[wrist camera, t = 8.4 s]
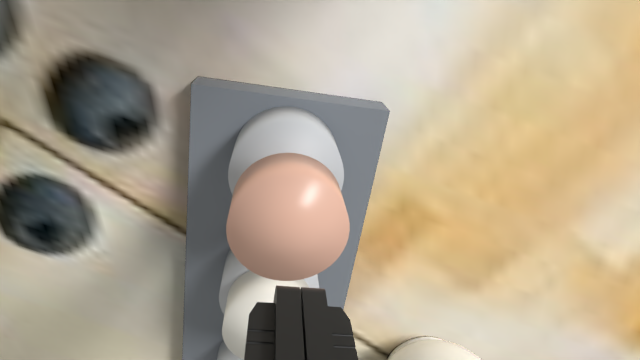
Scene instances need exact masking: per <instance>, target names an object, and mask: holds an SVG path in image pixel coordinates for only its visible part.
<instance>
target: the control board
mask: <svg viewBox="0 0 640 360" xmlns="http://www.w3.org/2000/svg"><path fill="white" fill-rule="evenodd" d="M389 112H390V111H389V110H388V109H387V107H386V106H385V105H384V104H383V103H382V102H377V101H370V100H363V99H356V98H348V97H341V96H334V95H327V94H320V93H313V92H306V91H298V90H291V89H284V88H277V87H270V86H263V85H256V84H248V83H241V82H234V81H227V80H220V79H213V78H206V77H197V78H196V79H195V80H194V81H193V82H192V84H191V108H190V139H189V170H188V201H187V232H186V263H185V294H184V326H183V357H182V360H243V359H241V358H239V357H237V356H236V355H235V354H233V353H232V352H231V351H230V350H229V349H228V347H227V346H226V344H225V342H224V340H223V336H222V326H223V320H224V314H225V308H226V302H227V296H228V292H229V289H230V288H231V286H232V284H233V283H234V282H235V281H236V280H237V279H238V278H239V277H240V276H241V275H243V274H244V273H246V272H248V271H250V270H249V269H247V268H246V267H245V266H243V265H242V264H241V263H240V262H239V261H238V260H237V258H236V257H235V256H234V254H233V253H232V251H231V249H230V247H229V243H228V240H227V234H226V224H227V218H228V214H229V209H230V205H231V201H232V196H233V192H234V189H235V185H236V183H237V181H238V179H239V178H240V176H241V175H242V173H243V172H244V171H245V170H246V169H247V168H248V167H249V166H251V165H252V164H253V163H255V162H256V161H258V160H260V159H262V158H264V157H266V156H270V155H273V154H278V153H297V154H303V155H306V156H309V157H311V158H314V159H316V160H318V161H319V162H321V163H322V164H323V165H325V166H326V167H327V168H328V169H329V170H330V171H331V172H332V173H333V175H334V176H335V178H336V180H337V182H338V184H339V187H340V190H341V193H342V196H343V200H344V203H345V206H346V210H347V213H348V217H349V223H350V231H349V237H348V241H347V244H346V246H345V248H344V250H343V252H342V253H341V255H340V256H339V257H338V259H337V260H336V261H335V262H334V263H333V264H332V265H331V266H329V267H328V268H327V269H325V270H324V271H322V272H320V273H318V274H316V275H314V276H312V277H308V278H305V279H304V280H305V281H306V283H307V284H308V286H309V288H321V289H325V291H326V297H327V304H328V306H332V307H341V308H342V310H343V308H344V304H345V300H346V296H347V291H348V287H349V283H350V279H351V274H352V270H353V266H354V261H355V257H356V253H357V249H358V244H359V240H360V236H361V232H362V227H363V223H364V219H365V215H366V210H367V206H368V202H369V197H370V193H371V189H372V185H373V180H374V176H375V172H376V168H377V163H378V159H379V155H380V151H381V146H382V142H383V138H384V133H385V129H386V125H387V121H388V116H389Z"/></svg>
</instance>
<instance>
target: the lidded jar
mask: <svg viewBox="0 0 640 360" xmlns="http://www.w3.org/2000/svg"><path fill="white" fill-rule="evenodd" d="M387 360H482V359H481V358H479V357H478V356H477V355H475V354H474V353H473V352H471V351H470V350H468V349H466V348H464V347H463V346H460V345H458V344H456V343H452V342H449V341H445V340H443V339H441V338H437V337H431V336H424V337H417V338H413V339H410V340H408V341H406V342H404V343H402V344H400V345H399V346H398V347H396V348H395V349H394V350H393V351H392V352H391V354H390V355H389V357H388V359H387Z"/></svg>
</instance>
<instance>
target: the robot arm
mask: <svg viewBox="0 0 640 360" xmlns="http://www.w3.org/2000/svg"><path fill="white" fill-rule="evenodd" d="M244 360H358V357H357V352H356V349H355V342H354V337H353V332H352V327H351V322H350V319H349V318H348V317H347V315H346V314H345V312H344V311H343V310H342V308H341V307H332V306H328V304H327V297H326V291H325V289H321V288H307V287H301V289H300V287H291V286H277V285H276V288H275V294H274V301H273V303H267V302H257V303H256V305H255V306H254V308H253V309H252V311H251V312H250V313H249V319H248V328H247V337H246V346H245V355H244Z"/></svg>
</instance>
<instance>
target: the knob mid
mask: <svg viewBox="0 0 640 360" xmlns="http://www.w3.org/2000/svg"><path fill="white" fill-rule="evenodd" d="M276 285H277V286H291V287H300V289H301V287H307V288H309V286H308V284H307V283H306V281H305V280H304V279H301V280H294V281H279V280H272V279H268V278H265V277H262V276H259V275H257V274H255V273H253V272H252V271H248V272H246V273H244V274H243V275H241V276H240V277H239V278H238V279H237V280H236V281H235V282H234V283H233V284H232V286H231V288H230V289H229V292H228V296H227V302H226V308H225V314H224V320H223V326H222V336H223V340H224V342H225V344H226V346H227V347H228V349H229V350H230V351H231V352H232V353H233V354H235V355H236V356H237V357H239V358H241V359H243V360H244V355H245V346H246V337H247V328H248V319H249V313H250V312H251V311H252V309H253V308H254V306H255V305H256V303H257V302H267V303H273V301H274V294H275V288H276Z"/></svg>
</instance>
